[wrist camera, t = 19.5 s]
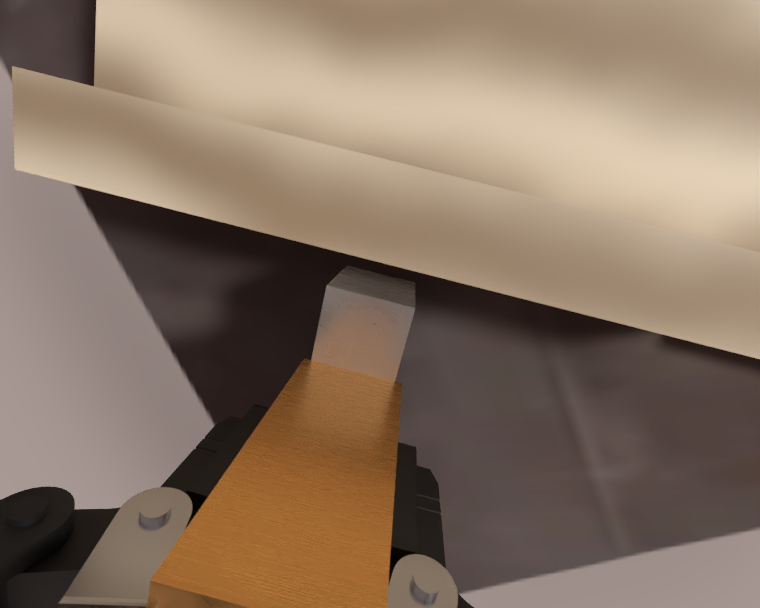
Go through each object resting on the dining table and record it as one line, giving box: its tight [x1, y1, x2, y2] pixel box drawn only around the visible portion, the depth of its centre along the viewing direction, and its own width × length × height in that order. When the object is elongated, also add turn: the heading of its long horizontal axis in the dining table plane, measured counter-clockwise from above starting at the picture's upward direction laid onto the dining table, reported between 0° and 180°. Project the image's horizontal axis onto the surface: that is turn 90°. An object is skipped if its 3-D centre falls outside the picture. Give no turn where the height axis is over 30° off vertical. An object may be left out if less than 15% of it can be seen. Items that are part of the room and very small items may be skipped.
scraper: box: [149, 265, 415, 608], centre depth 12 cm, size 9×4×12 cm, turn 167°
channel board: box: [12, 0, 760, 359], centre depth 13 cm, size 17×28×7 cm, turn 77°
